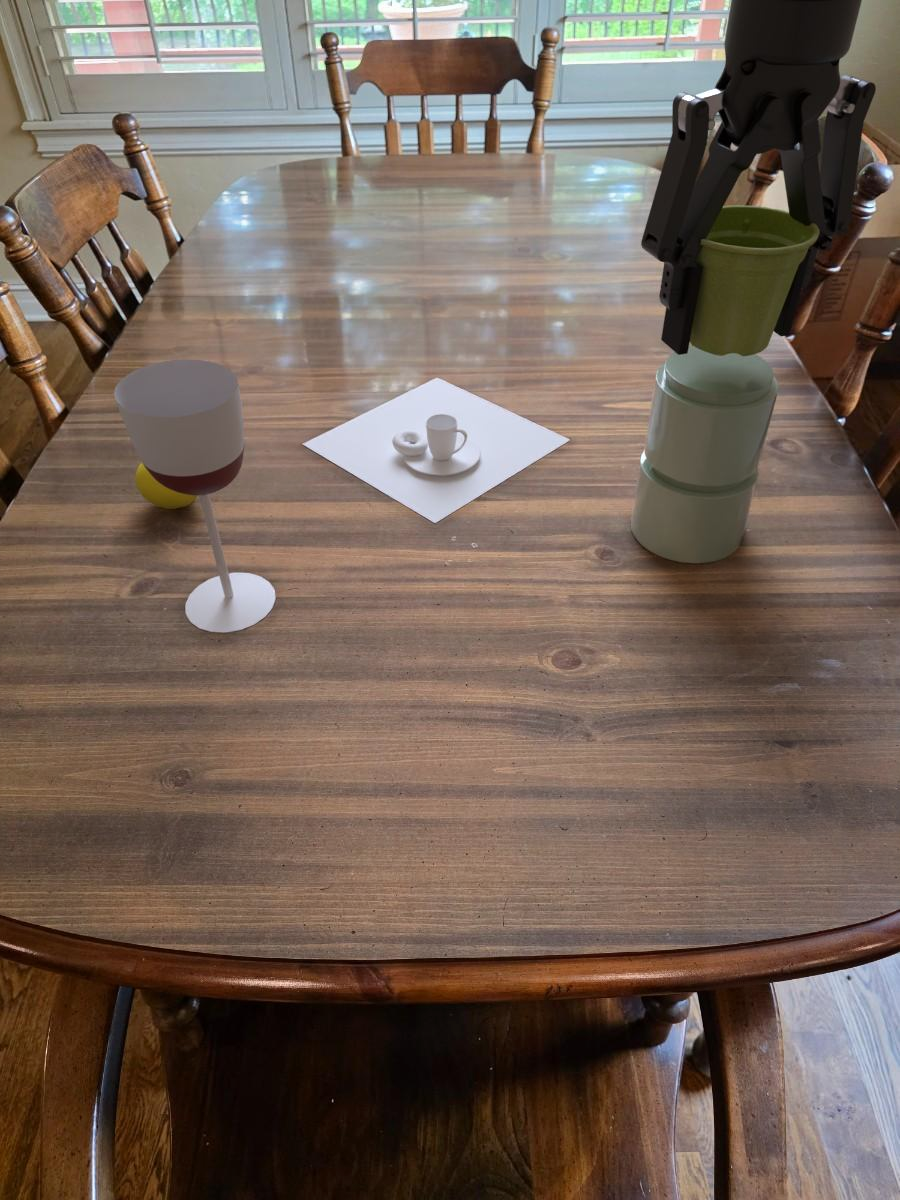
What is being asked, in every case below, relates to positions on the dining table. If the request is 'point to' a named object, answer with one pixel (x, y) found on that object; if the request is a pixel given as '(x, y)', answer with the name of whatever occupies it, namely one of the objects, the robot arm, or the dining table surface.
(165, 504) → the lemon
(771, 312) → the plant pot
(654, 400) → the cup stack
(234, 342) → the dining table surface
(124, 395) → the wineglass
